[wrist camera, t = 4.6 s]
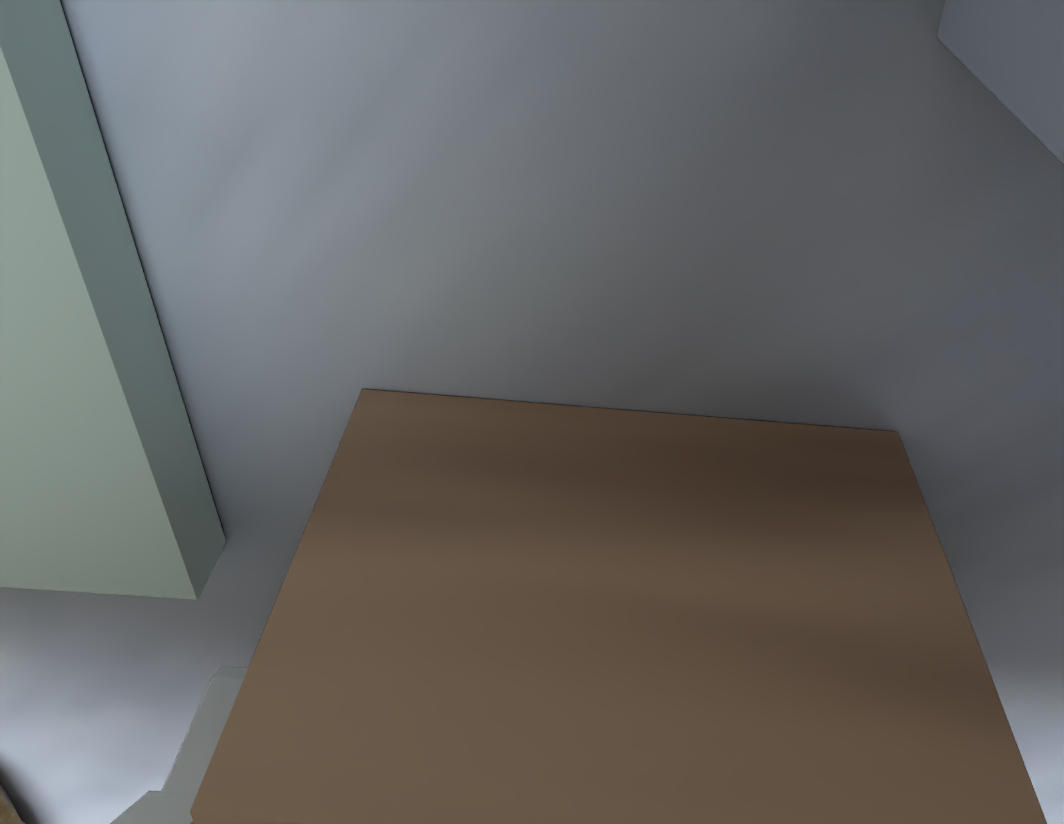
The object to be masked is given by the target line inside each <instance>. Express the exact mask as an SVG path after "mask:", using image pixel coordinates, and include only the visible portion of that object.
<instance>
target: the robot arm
mask: <svg viewBox="0 0 1064 824" xmlns="http://www.w3.org/2000/svg"><path fill="white" fill-rule="evenodd" d="M247 670H248V668H246V667H231V666H221V668H220V669H219V670H218V671H217V672H216V674H215V675H214V676H213V677H212V678H211V680H210V682H209V685H208V687H207V689H206V691H205V694H204V696H203V698H202V700H201V703H200V705H199V707H198V709H197V712H196V714H195V716H194V718H193V721H192V723H191V725H190V727H189V730H188V732H187V734H186V736H185V739H184V741H183V743H182V745H181V748H180V750H179V752H178V754H177V757H176V759H175V761H174V763H173V766H172V768H171V770H170V772H169V775H168V777H167V779H166V781H165V784H164V786H163V788H162V790H161V791H148V792H147V793H146V794H145V795H143V796H142V797H141V798H140V799H139V800H137V801H136V802H135V803H134V804H133V805H131V806H130V807H129V808H128V809H127V810H126V811H124V812H123V813H122V814H121V815H120V816H118V817H117V818H116V819H115V820H114V821H112V822H111V823H110V824H194V821H193V819H192V816H191V814H190V810H191V807H192V805H193V802H194V800H195V797H196V795H197V793H198V790H199V788H200V785H201V783H202V780H203V778H204V775H205V773H206V770H207V768H208V766H209V763H210V761H211V758H212V756H213V753H214V751H215V748H216V746H217V743H218V741H219V739H220V736H221V734H222V731H223V729H224V726H225V724H226V721H227V719H228V716H229V714H230V712H231V709H232V707H233V704H234V702H235V699H236V697H237V694H238V692H239V689H240V687H241V685H242V682H243V680H244V677H245V675H246V672H247ZM1045 820H1046V819H1045Z"/></svg>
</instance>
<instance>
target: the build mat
mask: <svg viewBox="0 0 1064 824" xmlns="http://www.w3.org/2000/svg"><path fill="white" fill-rule="evenodd" d="M225 543H226V540H225V537H224V533H223V530H222V527H221V524H220V520H219V517H218V514H217V511H216V507H215V504H214V501H213V498H212V494H211V491H210V488H209V485H208V481H207V478H206V475H205V472H204V468H203V465H202V462H201V459H200V455H199V452H198V449H197V446H196V442H195V439H194V436H193V433H192V429H191V426H190V423H189V420H188V416H187V413H186V410H185V407H184V403H183V400H182V397H181V393H180V390H179V387H178V384H177V380H176V377H175V374H174V371H173V367H172V364H171V361H170V358H169V354H168V351H167V348H166V345H165V341H164V338H163V335H162V332H161V328H160V325H159V322H158V319H157V315H156V312H155V309H154V306H153V302H152V299H151V296H150V293H149V289H148V286H147V283H146V280H145V276H144V273H143V270H142V267H141V263H140V260H139V257H138V254H137V250H136V247H135V244H134V241H133V237H132V234H131V231H130V227H129V224H128V221H127V218H126V214H125V211H124V208H123V205H122V201H121V198H120V195H119V192H118V188H117V185H116V182H115V179H114V175H113V172H112V169H111V166H110V162H109V159H108V156H107V153H106V149H105V146H104V143H103V140H102V136H101V133H100V130H99V127H98V123H97V120H96V117H95V114H94V110H93V107H92V104H91V101H90V97H89V94H88V91H87V88H86V84H85V81H84V78H83V75H82V71H81V68H80V65H79V62H78V58H77V55H76V52H75V48H74V45H73V42H72V39H71V35H70V32H69V29H68V26H67V22H66V19H65V16H64V13H63V9H62V6H61V3H60V0H0V587H5V588H20V589H36V590H51V591H67V592H82V593H98V594H113V595H129V596H144V597H160V598H175V599H191V600H197V599H198V597H199V595H200V593H201V591H202V589H203V587H204V585H205V583H206V581H207V579H208V577H209V575H210V573H211V571H212V569H213V567H214V565H215V563H216V561H217V559H218V557H219V555H220V553H221V551H222V549H223V547H224V545H225Z"/></svg>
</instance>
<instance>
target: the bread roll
mask: <svg viewBox="0 0 1064 824" xmlns="http://www.w3.org/2000/svg"><path fill="white" fill-rule="evenodd" d="M0 824H26V823H25V822H23V821H22V820H21V819H20V817H19V815H18V813H17V811H16V809H15V808H14V806H13V804H12V802H11V800H10V798H9V797H8V795H7V794H6V792H5V791H4V789H3V788H2V786H1V784H0Z"/></svg>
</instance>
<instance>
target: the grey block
mask: <svg viewBox="0 0 1064 824" xmlns="http://www.w3.org/2000/svg"><path fill="white" fill-rule="evenodd" d="M936 37H937V38H938V39H939V40H940V41H941V42H942V43H943V44H944V45H945V46H946V47H947V48H948V49H949V50H950V51H951V52H952V53H953V54H954V55H955V56H956V57H957V58H958V59H959V60H960V61H961V62H962V63H963V64H964V65H965V66H966V67H967V68H968V69H969V70H970V71H971V72H972V73H973V74H974V75H975V76H976V77H977V78H978V79H979V80H980V81H981V82H982V83H983V84H984V85H985V86H986V87H987V88H988V89H989V90H990V91H991V92H992V93H993V94H994V95H995V96H996V97H997V98H998V99H999V100H1000V101H1001V102H1002V103H1003V104H1004V105H1005V106H1006V107H1007V108H1008V109H1009V110H1010V111H1011V112H1012V113H1013V114H1014V115H1015V116H1016V117H1017V118H1018V119H1019V120H1020V121H1021V122H1022V123H1023V124H1024V125H1025V126H1026V127H1027V128H1028V129H1029V130H1030V131H1031V132H1032V133H1033V134H1034V135H1035V136H1036V137H1037V138H1038V139H1039V140H1040V141H1041V142H1042V143H1043V144H1044V145H1045V146H1046V147H1047V148H1048V149H1049V150H1050V151H1051V152H1052V153H1053V154H1054V155H1055V156H1056V157H1057V158H1058V159H1059V160H1060V161H1061V162H1062V163H1063V164H1064V0H946V1H945V5H944V8H943V12H942V16H941V20H940V24H939V28H938V32H937V36H936Z"/></svg>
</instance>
